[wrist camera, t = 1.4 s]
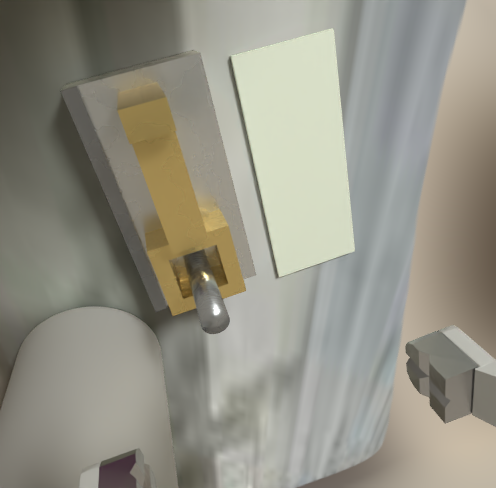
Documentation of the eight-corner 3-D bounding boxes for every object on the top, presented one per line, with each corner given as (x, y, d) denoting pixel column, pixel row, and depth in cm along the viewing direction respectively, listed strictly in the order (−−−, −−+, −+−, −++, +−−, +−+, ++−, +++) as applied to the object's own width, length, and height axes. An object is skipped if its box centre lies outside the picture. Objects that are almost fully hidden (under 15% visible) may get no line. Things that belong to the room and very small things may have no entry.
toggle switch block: (66, 83, 28) (35, 119, 18) (193, 50, 29) (232, 65, 19) (153, 289, 37) (165, 390, 27) (247, 258, 39) (292, 343, 28)
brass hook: (91, 99, 26) (84, 119, 21) (182, 75, 27) (197, 88, 22) (168, 294, 35) (177, 344, 29) (237, 271, 35) (258, 315, 30)
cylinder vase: (-11, 334, 35) (-211, 811, 14) (130, 282, 36) (145, 645, 15) (60, 422, 42) (-3, 841, 20) (178, 375, 43) (235, 723, 22)
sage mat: (230, 55, 30) (231, 56, 30) (331, 28, 31) (333, 28, 31) (277, 275, 40) (279, 277, 40) (352, 249, 41) (354, 251, 41)
